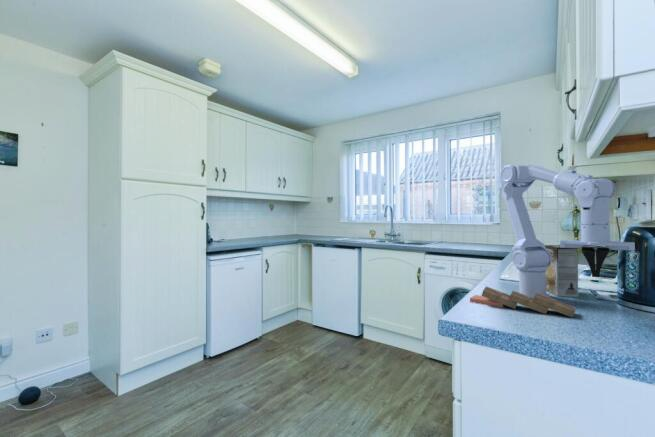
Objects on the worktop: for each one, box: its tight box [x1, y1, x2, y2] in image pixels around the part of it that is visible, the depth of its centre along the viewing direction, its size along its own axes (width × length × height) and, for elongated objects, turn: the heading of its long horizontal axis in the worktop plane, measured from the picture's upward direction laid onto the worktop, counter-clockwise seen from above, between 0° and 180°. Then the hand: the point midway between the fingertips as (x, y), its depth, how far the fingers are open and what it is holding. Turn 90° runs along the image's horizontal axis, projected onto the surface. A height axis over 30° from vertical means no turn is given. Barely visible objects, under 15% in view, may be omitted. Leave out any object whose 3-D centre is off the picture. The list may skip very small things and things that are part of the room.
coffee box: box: [544, 244, 579, 298], centre depth 103 cm, size 9×6×16 cm
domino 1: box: [469, 294, 506, 308], centre depth 94 cm, size 5×2×9 cm
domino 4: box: [533, 292, 576, 318], centre depth 83 cm, size 5×2×9 cm
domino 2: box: [481, 285, 518, 310], centre depth 91 cm, size 5×2×9 cm
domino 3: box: [509, 290, 549, 315], centre depth 86 cm, size 5×2×9 cm
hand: (595, 276), depth 80 cm, fingers closed
